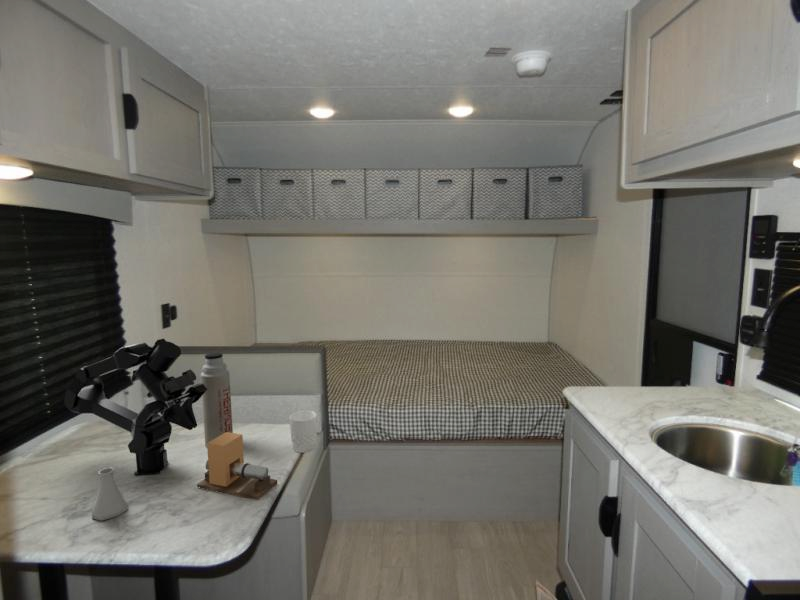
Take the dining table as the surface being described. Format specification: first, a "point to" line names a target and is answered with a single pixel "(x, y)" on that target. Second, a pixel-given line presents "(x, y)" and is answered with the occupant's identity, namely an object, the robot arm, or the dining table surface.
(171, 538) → the dining table surface
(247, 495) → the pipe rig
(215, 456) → the tan block
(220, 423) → the thermos bottle
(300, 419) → the white cup
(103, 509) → the flask
